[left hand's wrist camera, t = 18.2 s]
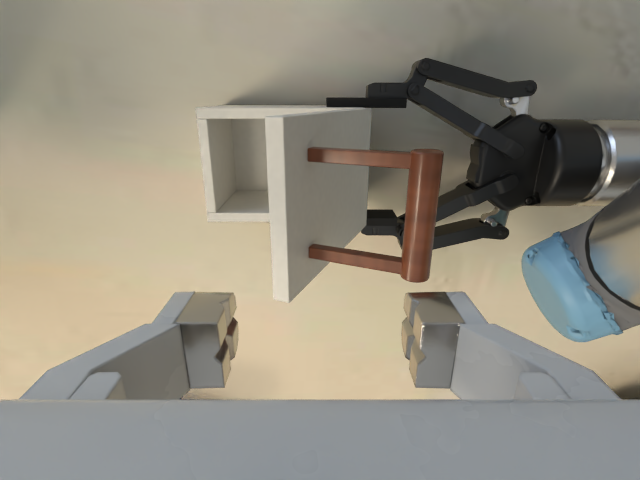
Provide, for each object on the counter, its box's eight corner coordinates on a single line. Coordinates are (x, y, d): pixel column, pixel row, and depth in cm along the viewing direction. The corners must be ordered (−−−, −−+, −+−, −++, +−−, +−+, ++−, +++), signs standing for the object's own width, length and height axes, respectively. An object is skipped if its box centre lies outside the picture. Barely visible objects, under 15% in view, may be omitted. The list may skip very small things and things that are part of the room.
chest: (231, 196, 42) (207, 222, 33) (223, 104, 39) (194, 107, 30) (352, 196, 42) (360, 222, 33) (355, 105, 39) (365, 107, 30)
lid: (273, 300, 21) (416, 332, 18) (264, 116, 17) (440, 120, 14) (355, 223, 33) (448, 236, 30) (359, 107, 29) (464, 109, 27)
